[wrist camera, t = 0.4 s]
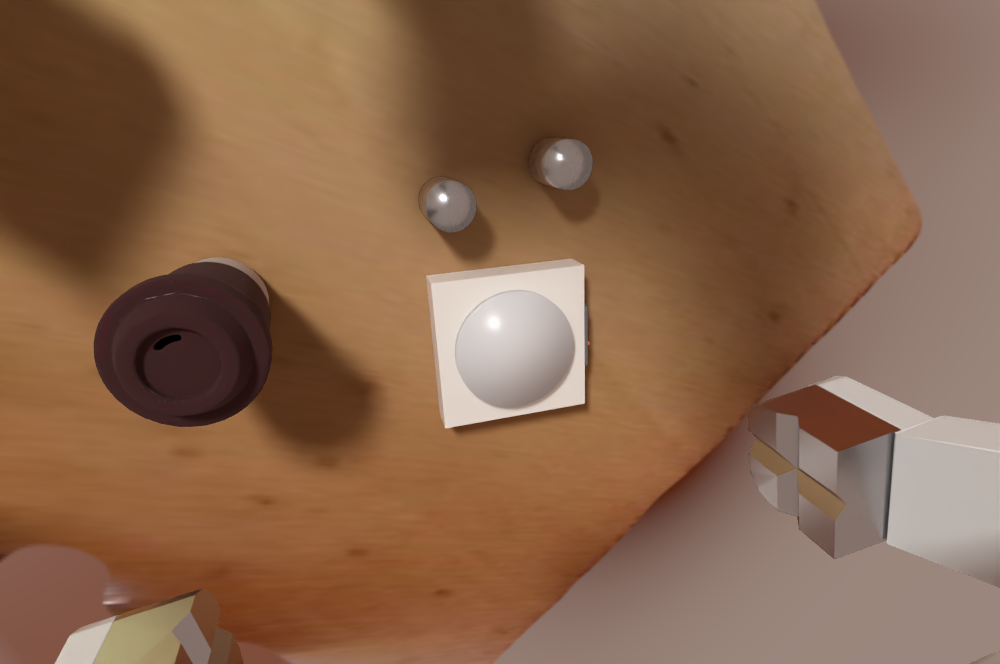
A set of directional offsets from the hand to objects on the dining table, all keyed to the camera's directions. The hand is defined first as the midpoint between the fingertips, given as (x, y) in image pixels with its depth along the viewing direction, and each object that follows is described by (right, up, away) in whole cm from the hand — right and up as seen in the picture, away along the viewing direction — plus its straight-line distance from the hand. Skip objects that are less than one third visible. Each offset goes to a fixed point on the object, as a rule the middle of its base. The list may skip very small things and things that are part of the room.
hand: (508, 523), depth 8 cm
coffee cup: (-23, +6, +40) cm, 47 cm away
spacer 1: (-5, +14, +42) cm, 45 cm away
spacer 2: (+4, +18, +43) cm, 47 cm away
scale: (0, +2, +48) cm, 48 cm away
